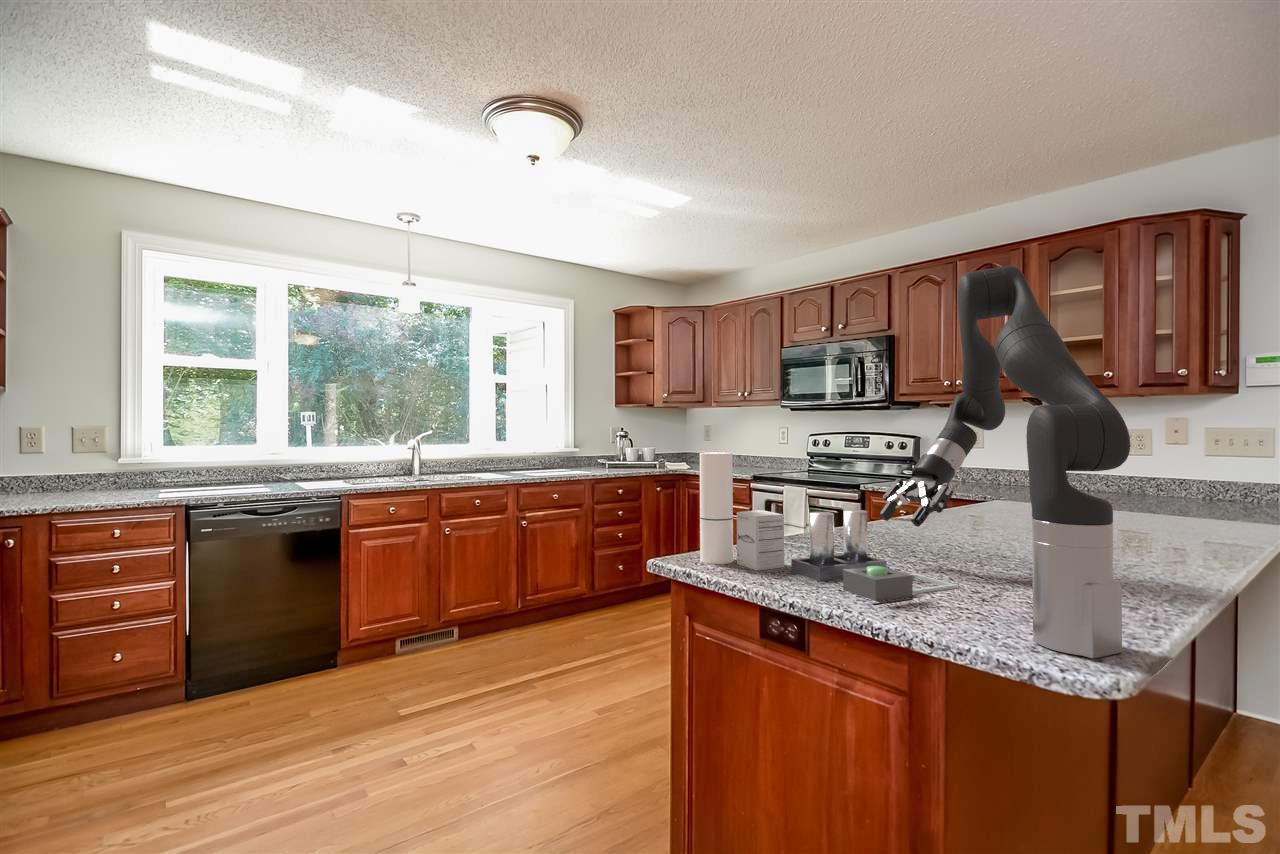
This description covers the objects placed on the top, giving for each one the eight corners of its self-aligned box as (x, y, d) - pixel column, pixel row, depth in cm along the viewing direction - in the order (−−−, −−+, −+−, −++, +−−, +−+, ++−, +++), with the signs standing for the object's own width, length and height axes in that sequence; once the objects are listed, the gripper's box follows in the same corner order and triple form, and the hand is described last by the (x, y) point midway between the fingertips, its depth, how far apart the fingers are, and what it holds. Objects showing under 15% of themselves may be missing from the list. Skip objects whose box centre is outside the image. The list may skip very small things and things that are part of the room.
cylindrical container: (732, 563, 140) (731, 452, 140) (734, 571, 133) (733, 453, 133) (700, 563, 141) (699, 452, 141) (700, 570, 134) (699, 453, 134)
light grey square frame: (957, 596, 112) (957, 585, 112) (914, 602, 108) (914, 590, 108) (914, 583, 121) (914, 573, 121) (873, 588, 118) (873, 578, 118)
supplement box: (735, 570, 134) (735, 511, 134) (764, 567, 137) (763, 509, 137) (756, 578, 127) (755, 515, 127) (785, 574, 130) (785, 513, 130)
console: (912, 604, 107) (912, 575, 107) (875, 609, 104) (875, 579, 104) (878, 593, 114) (878, 566, 114) (843, 598, 111) (843, 569, 111)
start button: (891, 586, 108) (891, 569, 108) (876, 588, 107) (876, 570, 107) (877, 582, 111) (877, 565, 111) (862, 584, 110) (862, 567, 110)
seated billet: (839, 575, 122) (838, 514, 122) (819, 578, 120) (819, 515, 120) (824, 570, 126) (823, 511, 126) (805, 573, 124) (804, 512, 124)
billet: (872, 572, 125) (872, 511, 125) (854, 574, 123) (853, 513, 123) (857, 567, 129) (856, 509, 129) (838, 569, 127) (838, 510, 127)
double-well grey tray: (886, 581, 123) (886, 561, 123) (820, 589, 117) (819, 568, 117) (855, 571, 132) (855, 552, 132) (791, 578, 126) (791, 559, 126)
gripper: (904, 451, 140) (864, 505, 136) (957, 453, 127) (915, 513, 123) (922, 474, 142) (883, 527, 138) (976, 478, 129) (935, 538, 125)
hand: (898, 520), depth 131 cm, fingers open, 8 cm apart
